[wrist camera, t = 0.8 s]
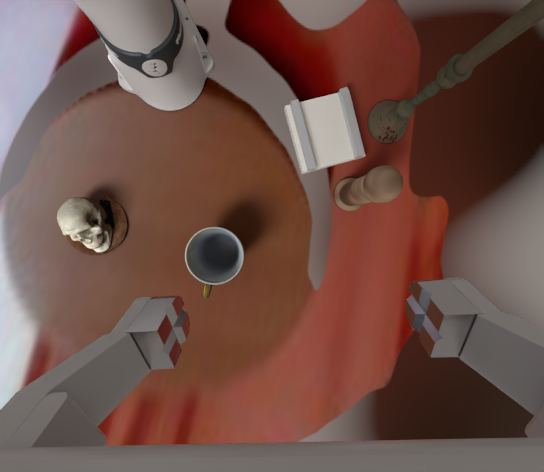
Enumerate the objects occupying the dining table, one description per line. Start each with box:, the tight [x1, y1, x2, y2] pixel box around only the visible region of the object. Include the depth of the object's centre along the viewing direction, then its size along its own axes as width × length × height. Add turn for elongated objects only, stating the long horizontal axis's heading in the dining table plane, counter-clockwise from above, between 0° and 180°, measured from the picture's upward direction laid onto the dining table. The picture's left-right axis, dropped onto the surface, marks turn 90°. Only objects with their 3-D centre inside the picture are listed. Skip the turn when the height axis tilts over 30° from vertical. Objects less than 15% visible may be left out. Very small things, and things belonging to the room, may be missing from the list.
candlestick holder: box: [368, 0, 544, 144], centre depth 37 cm, size 9×9×30 cm
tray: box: [284, 87, 365, 174], centre depth 50 cm, size 14×14×3 cm
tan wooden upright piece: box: [333, 165, 403, 211], centre depth 44 cm, size 7×7×16 cm
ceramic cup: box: [185, 227, 244, 298], centre depth 46 cm, size 13×10×10 cm
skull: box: [57, 196, 127, 255], centre depth 47 cm, size 12×10×10 cm
